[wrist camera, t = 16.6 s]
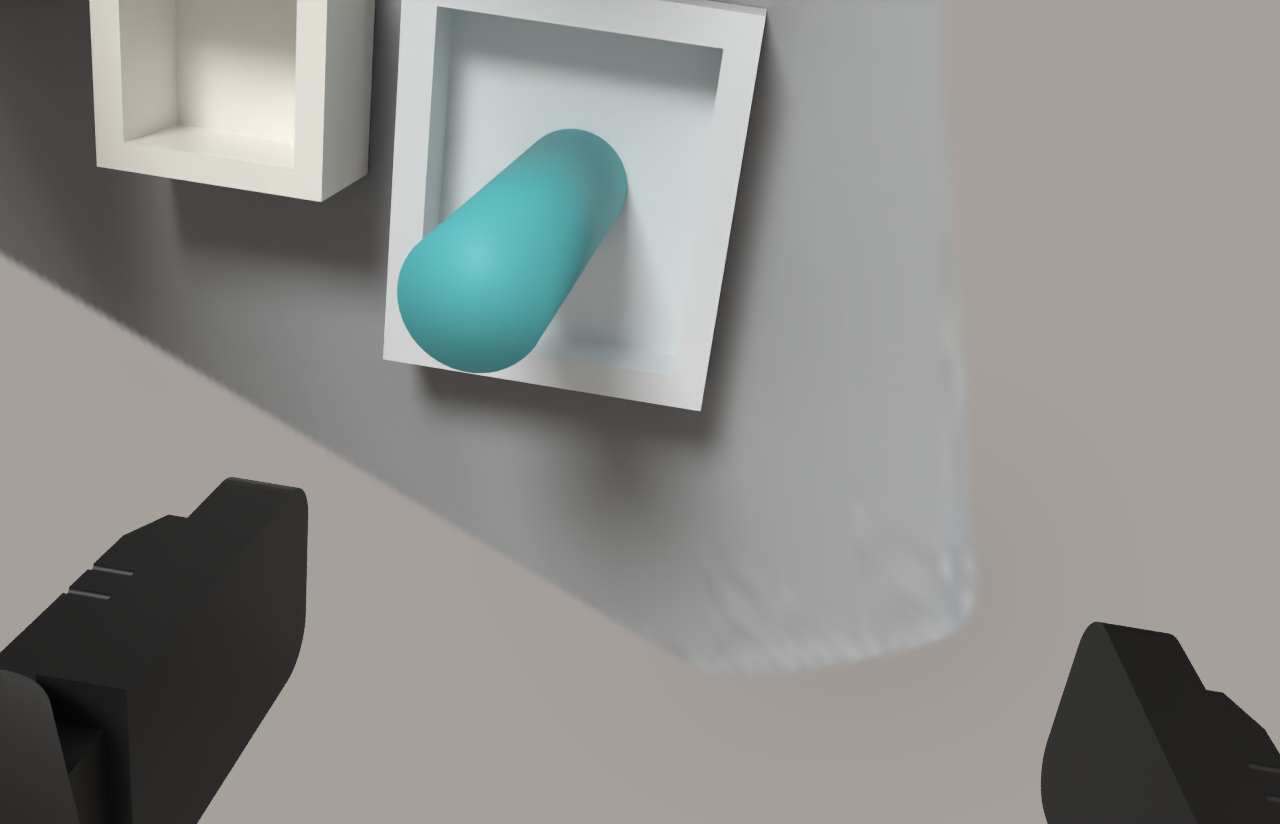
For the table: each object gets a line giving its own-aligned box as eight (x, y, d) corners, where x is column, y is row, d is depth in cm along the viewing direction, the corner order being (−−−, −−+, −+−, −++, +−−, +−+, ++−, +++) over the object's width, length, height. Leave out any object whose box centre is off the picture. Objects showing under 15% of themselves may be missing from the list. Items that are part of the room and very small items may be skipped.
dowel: (516, 229, 45) (395, 361, 32) (522, 122, 43) (398, 215, 30) (622, 244, 44) (542, 383, 32) (632, 135, 43) (553, 236, 30)
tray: (409, 330, 48) (383, 359, 45) (432, -41, 42) (403, -38, 39) (705, 378, 47) (700, 411, 44) (766, 9, 42) (765, 16, 39)
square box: (164, 142, 46) (96, 166, 41) (159, -81, 43) (85, -81, 38) (367, 173, 46) (321, 201, 41) (377, -49, 43) (328, -46, 38)
